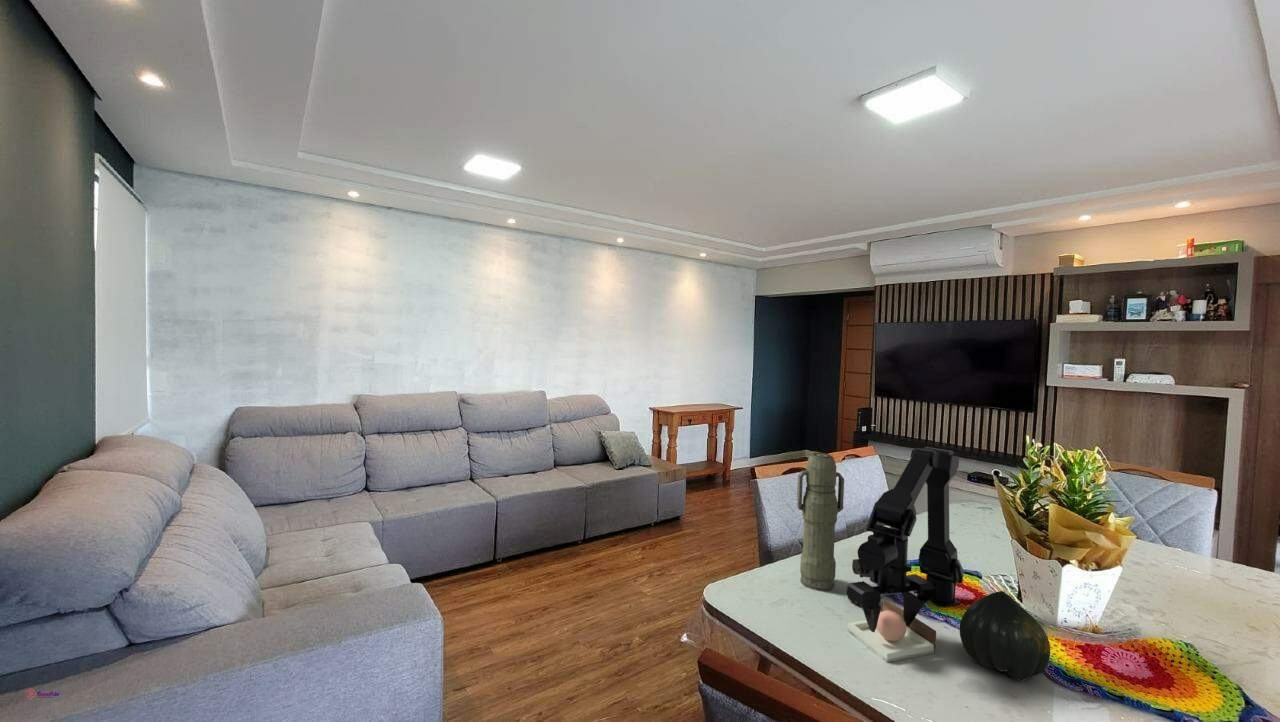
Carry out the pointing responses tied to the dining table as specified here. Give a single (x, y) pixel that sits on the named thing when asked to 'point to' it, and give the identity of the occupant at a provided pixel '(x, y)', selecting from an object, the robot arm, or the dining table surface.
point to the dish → (891, 643)
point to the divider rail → (914, 623)
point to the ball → (891, 625)
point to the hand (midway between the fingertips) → (889, 628)
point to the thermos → (819, 520)
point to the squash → (1004, 636)
